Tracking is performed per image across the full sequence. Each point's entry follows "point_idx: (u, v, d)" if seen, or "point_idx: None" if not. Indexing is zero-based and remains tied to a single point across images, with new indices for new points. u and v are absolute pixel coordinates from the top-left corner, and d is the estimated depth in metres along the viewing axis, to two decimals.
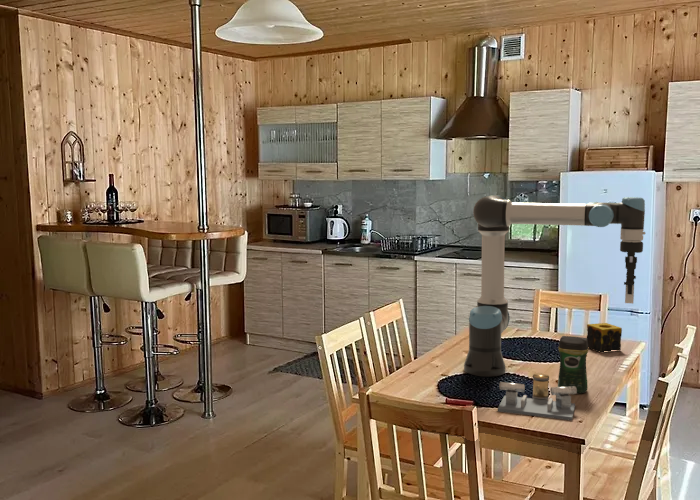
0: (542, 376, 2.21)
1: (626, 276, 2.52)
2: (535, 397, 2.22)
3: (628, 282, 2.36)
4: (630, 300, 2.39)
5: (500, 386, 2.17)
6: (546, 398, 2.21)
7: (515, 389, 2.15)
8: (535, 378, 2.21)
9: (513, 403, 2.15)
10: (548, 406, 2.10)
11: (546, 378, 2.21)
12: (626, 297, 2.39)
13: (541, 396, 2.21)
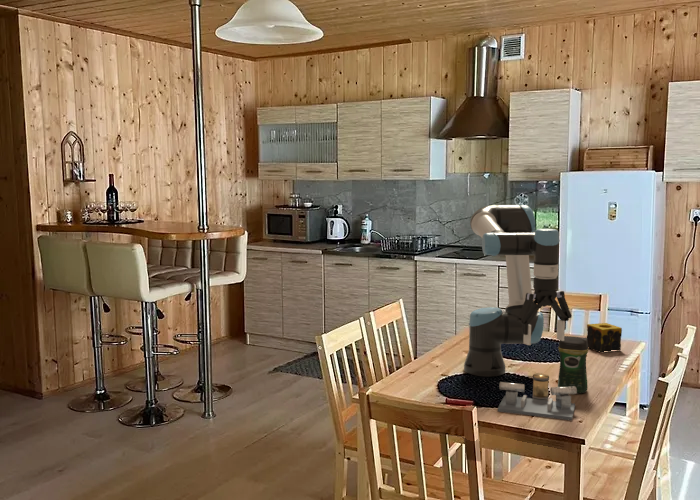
0: (542, 376, 2.21)
1: None
2: (535, 397, 2.22)
3: (518, 321, 2.17)
4: (526, 341, 2.18)
5: (500, 386, 2.17)
6: (546, 398, 2.21)
7: (515, 389, 2.15)
8: (535, 378, 2.21)
9: (513, 403, 2.15)
10: (548, 406, 2.10)
11: (546, 378, 2.21)
12: (524, 337, 2.20)
13: (541, 396, 2.21)
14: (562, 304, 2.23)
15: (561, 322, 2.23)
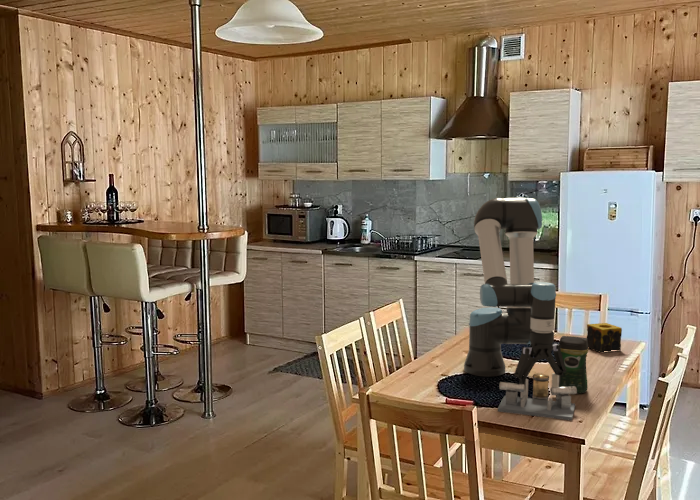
0: (542, 376, 2.21)
1: None
2: (535, 397, 2.22)
3: (515, 375, 2.19)
4: None
5: (500, 386, 2.17)
6: (546, 398, 2.21)
7: (515, 389, 2.15)
8: (535, 378, 2.21)
9: (513, 403, 2.15)
10: (548, 406, 2.10)
11: (546, 378, 2.21)
12: None
13: (541, 396, 2.21)
14: (558, 358, 2.24)
15: (555, 376, 2.24)
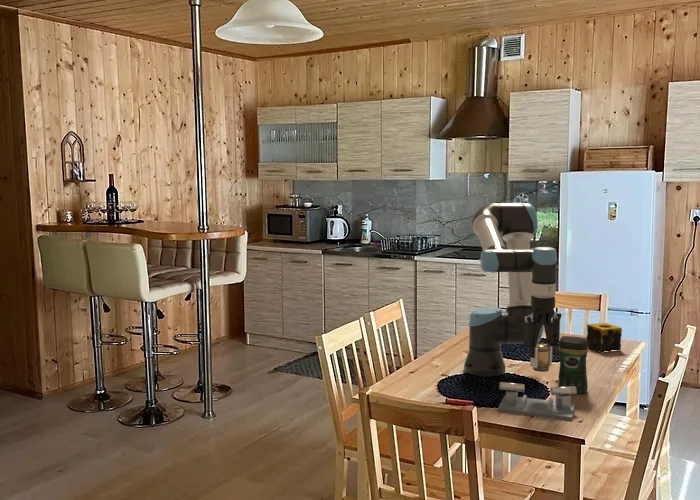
0: (542, 346, 2.21)
1: None
2: None
3: (525, 344, 2.20)
4: (533, 364, 2.21)
5: (500, 386, 2.17)
6: (546, 368, 2.21)
7: (515, 389, 2.15)
8: None
9: (513, 403, 2.15)
10: (548, 406, 2.10)
11: (546, 348, 2.20)
12: (530, 360, 2.22)
13: (541, 366, 2.20)
14: (555, 326, 2.23)
15: (549, 347, 2.22)
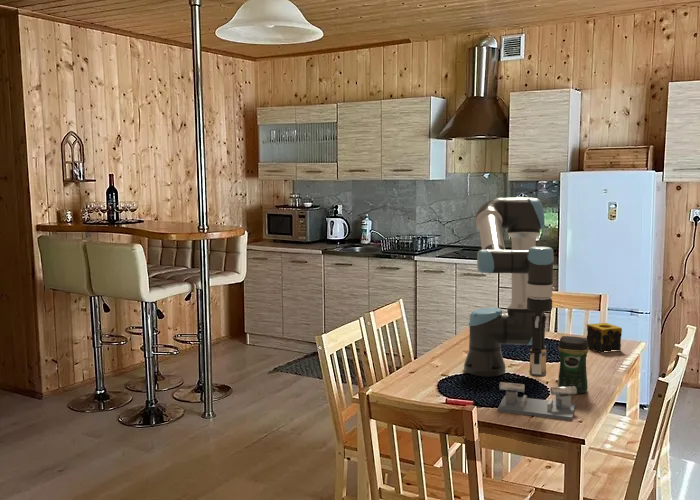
0: (542, 350, 2.11)
1: None
2: None
3: (534, 351, 2.07)
4: (537, 370, 2.10)
5: (500, 386, 2.17)
6: (545, 372, 2.12)
7: (515, 389, 2.15)
8: None
9: (513, 403, 2.15)
10: (548, 406, 2.10)
11: (546, 351, 2.11)
12: (533, 367, 2.10)
13: (544, 371, 2.11)
14: None
15: None
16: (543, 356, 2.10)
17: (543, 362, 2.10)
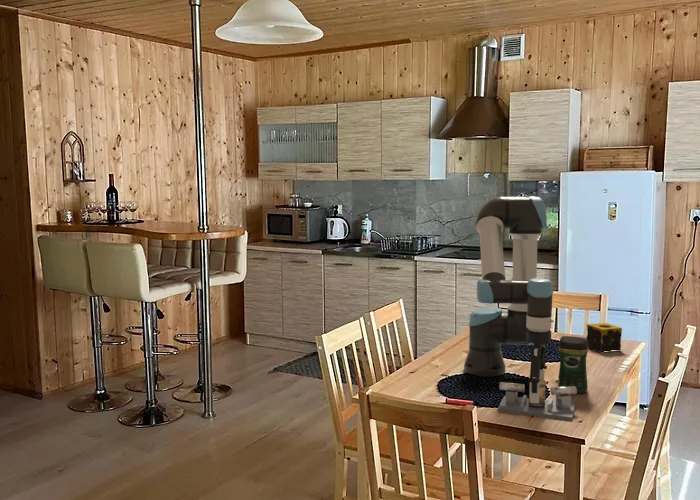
0: (541, 381, 2.13)
1: None
2: (537, 405, 2.12)
3: (531, 380, 2.04)
4: (535, 399, 2.07)
5: (500, 386, 2.17)
6: None
7: (515, 389, 2.15)
8: None
9: (513, 403, 2.15)
10: (548, 406, 2.10)
11: (545, 382, 2.13)
12: (530, 396, 2.07)
13: (543, 402, 2.12)
14: None
15: (542, 371, 2.19)
16: (542, 387, 2.11)
17: (542, 393, 2.12)
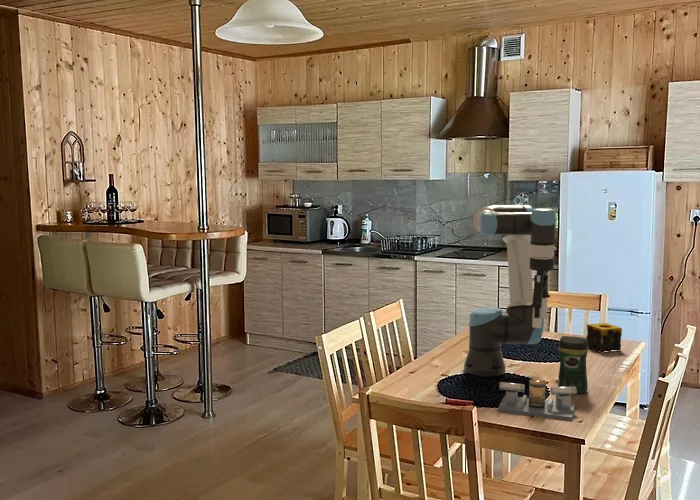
0: (541, 381, 2.12)
1: None
2: (537, 405, 2.12)
3: (534, 305, 2.11)
4: (538, 324, 2.14)
5: (500, 386, 2.17)
6: None
7: (515, 389, 2.15)
8: (537, 385, 2.11)
9: (513, 403, 2.15)
10: (548, 406, 2.10)
11: (545, 382, 2.13)
12: (533, 321, 2.15)
13: (543, 402, 2.12)
14: None
15: (544, 300, 2.26)
16: (542, 387, 2.11)
17: (542, 393, 2.12)
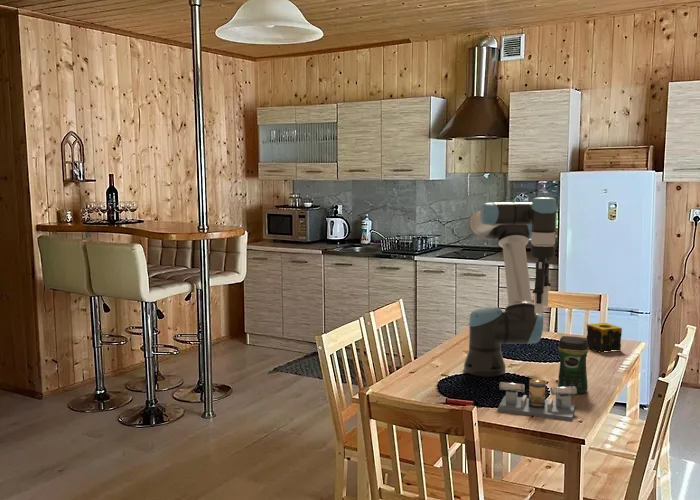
0: (541, 381, 2.13)
1: None
2: (537, 405, 2.12)
3: (536, 290, 2.15)
4: (540, 310, 2.18)
5: (500, 386, 2.17)
6: None
7: (515, 389, 2.15)
8: (537, 385, 2.11)
9: (513, 403, 2.15)
10: (548, 406, 2.10)
11: (545, 382, 2.13)
12: (535, 307, 2.19)
13: (543, 402, 2.12)
14: None
15: (546, 288, 2.30)
16: (542, 387, 2.11)
17: (542, 393, 2.12)
